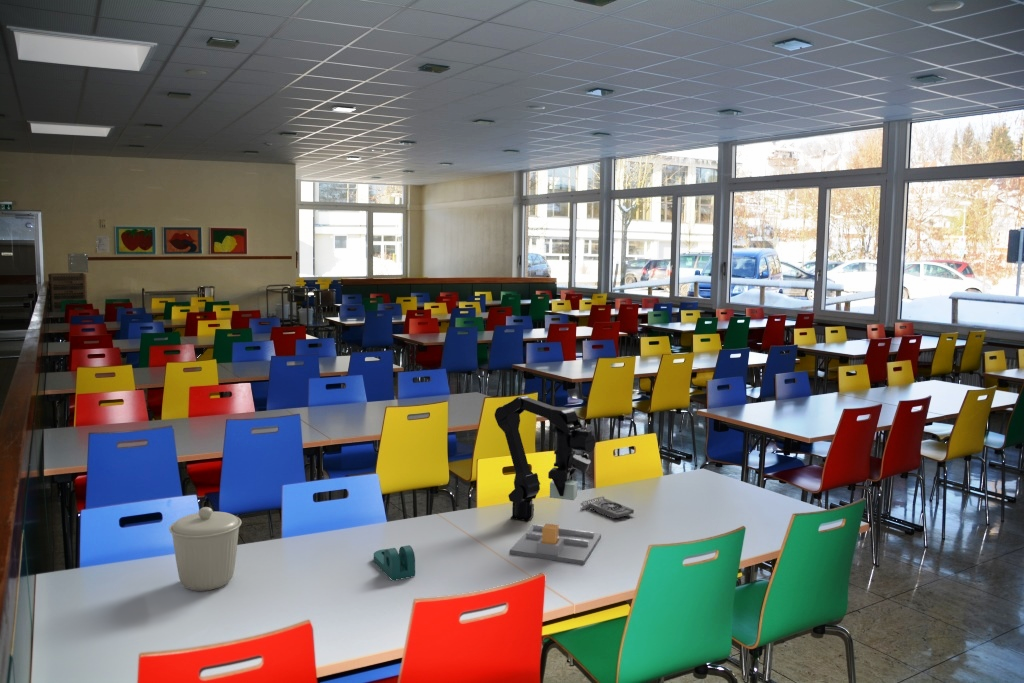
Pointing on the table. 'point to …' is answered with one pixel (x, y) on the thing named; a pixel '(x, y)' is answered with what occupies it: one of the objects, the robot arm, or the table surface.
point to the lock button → (550, 534)
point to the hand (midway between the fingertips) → (563, 493)
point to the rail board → (557, 545)
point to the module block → (569, 491)
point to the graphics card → (607, 507)
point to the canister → (205, 548)
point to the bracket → (396, 562)
